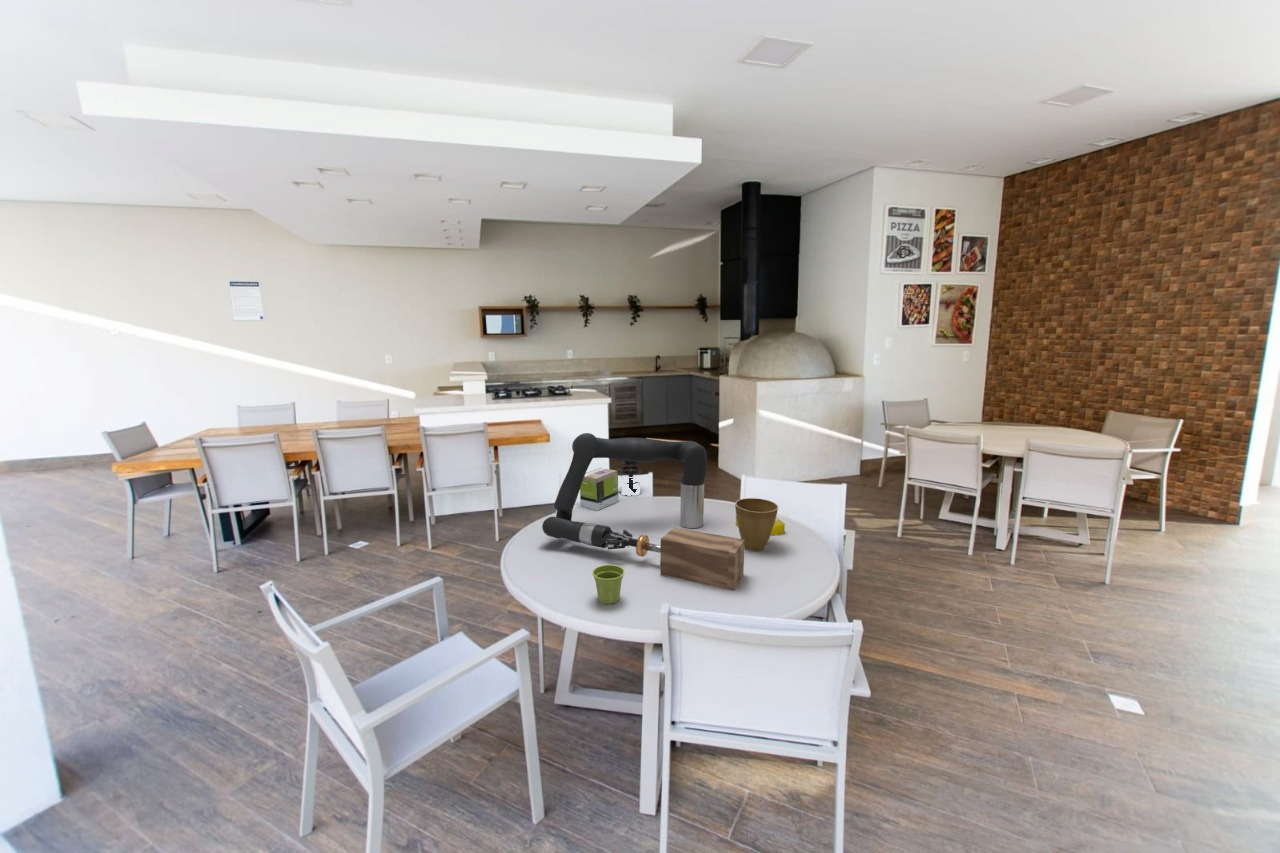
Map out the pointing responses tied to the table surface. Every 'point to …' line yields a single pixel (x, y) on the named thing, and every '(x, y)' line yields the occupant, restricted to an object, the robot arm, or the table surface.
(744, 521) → the plant pot
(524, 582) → the table surface
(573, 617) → the table surface
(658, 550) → the plunger
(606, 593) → the plant pot
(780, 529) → the element tile
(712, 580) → the box
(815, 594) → the table surface
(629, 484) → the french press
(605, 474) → the tea box
